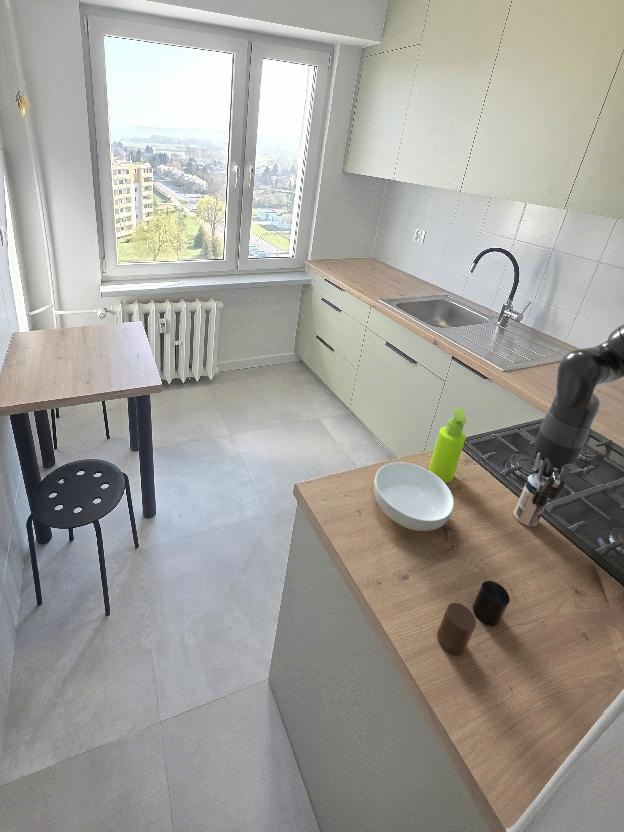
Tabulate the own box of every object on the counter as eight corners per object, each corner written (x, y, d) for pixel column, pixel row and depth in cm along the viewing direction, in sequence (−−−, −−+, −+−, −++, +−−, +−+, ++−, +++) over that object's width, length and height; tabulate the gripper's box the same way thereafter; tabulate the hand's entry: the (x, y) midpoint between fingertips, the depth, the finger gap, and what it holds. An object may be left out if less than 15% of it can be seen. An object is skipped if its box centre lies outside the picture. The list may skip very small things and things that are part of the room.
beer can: (536, 531, 93) (554, 491, 88) (511, 520, 96) (528, 480, 91) (537, 517, 97) (555, 478, 92) (514, 507, 99) (530, 468, 94)
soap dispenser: (429, 481, 105) (448, 417, 97) (427, 463, 112) (445, 401, 103) (454, 488, 104) (476, 423, 96) (451, 469, 110) (471, 406, 102)
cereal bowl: (356, 491, 101) (360, 469, 99) (411, 477, 107) (417, 455, 104) (402, 552, 87) (409, 528, 84) (463, 532, 92) (472, 508, 89)
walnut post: (464, 634, 73) (475, 609, 70) (465, 661, 69) (476, 635, 66) (437, 623, 74) (446, 598, 72) (436, 648, 71) (446, 622, 68)
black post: (498, 607, 77) (508, 586, 75) (501, 631, 74) (511, 609, 71) (472, 597, 79) (480, 576, 76) (473, 619, 75) (482, 598, 73)
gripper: (594, 462, 79) (562, 526, 86) (574, 420, 91) (548, 479, 98) (547, 450, 82) (520, 513, 89) (534, 411, 94) (511, 469, 101)
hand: (535, 495), depth 93 cm, fingers closed on beer can, 4 cm apart
